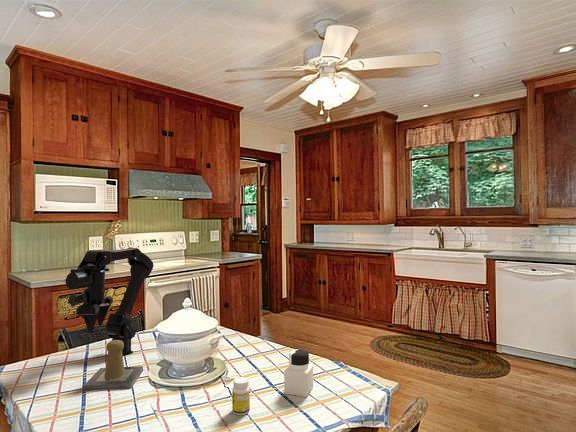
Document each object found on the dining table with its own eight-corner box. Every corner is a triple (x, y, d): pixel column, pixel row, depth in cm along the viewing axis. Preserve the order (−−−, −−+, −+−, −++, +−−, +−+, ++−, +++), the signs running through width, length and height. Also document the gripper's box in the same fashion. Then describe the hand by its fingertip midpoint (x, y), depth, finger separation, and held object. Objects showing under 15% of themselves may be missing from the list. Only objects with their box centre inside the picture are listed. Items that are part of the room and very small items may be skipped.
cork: (128, 371, 125) (128, 338, 125) (118, 379, 119) (118, 344, 119) (111, 370, 126) (111, 337, 126) (100, 378, 120) (100, 343, 120)
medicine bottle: (313, 387, 117) (313, 348, 117) (306, 397, 110) (306, 356, 110) (291, 384, 119) (291, 346, 119) (283, 394, 112) (284, 353, 113)
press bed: (100, 372, 128) (100, 367, 128) (143, 370, 130) (143, 365, 130) (83, 390, 114) (83, 385, 114) (131, 388, 116) (131, 382, 116)
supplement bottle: (232, 407, 104) (232, 376, 104) (249, 406, 105) (250, 376, 105) (231, 416, 99) (231, 384, 100) (249, 415, 100) (249, 383, 100)
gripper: (82, 281, 143) (82, 322, 143) (59, 290, 125) (58, 337, 125) (113, 281, 145) (113, 321, 145) (95, 289, 126) (94, 336, 126)
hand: (95, 328), depth 135 cm, fingers open, 9 cm apart
